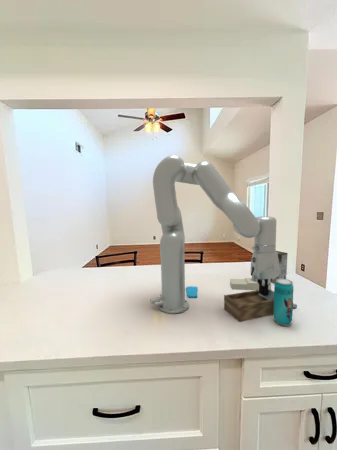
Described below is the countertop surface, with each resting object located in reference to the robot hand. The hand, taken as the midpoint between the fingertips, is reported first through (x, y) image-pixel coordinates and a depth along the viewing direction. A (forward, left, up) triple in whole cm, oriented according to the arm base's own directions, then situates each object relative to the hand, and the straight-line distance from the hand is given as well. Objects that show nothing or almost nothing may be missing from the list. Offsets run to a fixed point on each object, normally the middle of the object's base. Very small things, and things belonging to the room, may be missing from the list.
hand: (263, 294), depth 84 cm
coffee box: (+27, +22, -6) cm, 36 cm away
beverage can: (0, -10, -6) cm, 12 cm away
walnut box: (-6, 0, -6) cm, 9 cm away
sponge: (-21, +24, -7) cm, 32 cm away
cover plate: (+7, 0, -4) cm, 8 cm away
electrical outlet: (+10, +20, -7) cm, 23 cm away
